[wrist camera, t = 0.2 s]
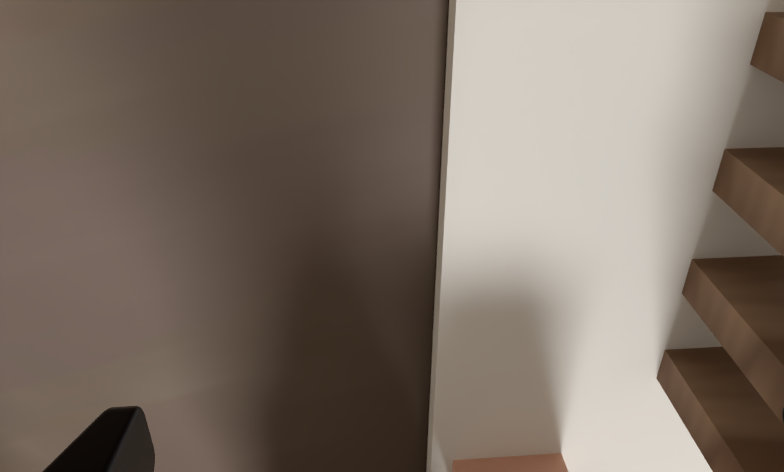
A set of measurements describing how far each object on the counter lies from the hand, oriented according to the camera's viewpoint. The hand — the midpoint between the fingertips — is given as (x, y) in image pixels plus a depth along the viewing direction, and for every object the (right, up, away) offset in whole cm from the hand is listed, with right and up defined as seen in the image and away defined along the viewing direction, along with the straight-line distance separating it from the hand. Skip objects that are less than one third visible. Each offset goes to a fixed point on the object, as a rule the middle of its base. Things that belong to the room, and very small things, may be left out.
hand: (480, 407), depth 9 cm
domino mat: (+9, +1, +17) cm, 20 cm away
